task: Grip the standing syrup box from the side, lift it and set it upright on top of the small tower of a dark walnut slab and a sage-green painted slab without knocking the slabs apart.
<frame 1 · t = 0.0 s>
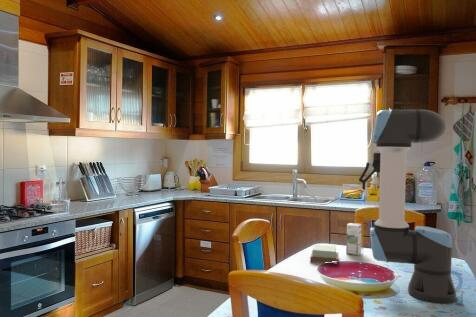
hand: (380, 197, 190), 28 cm above the table, tool pointing down, fingers open, 13 cm apart
sage slab: (324, 254, 183), point 2 cm above the table, touching walnut slab
walnut slab: (324, 261, 183), on the table, touching sage slab
syrup box: (353, 253, 195), on the table
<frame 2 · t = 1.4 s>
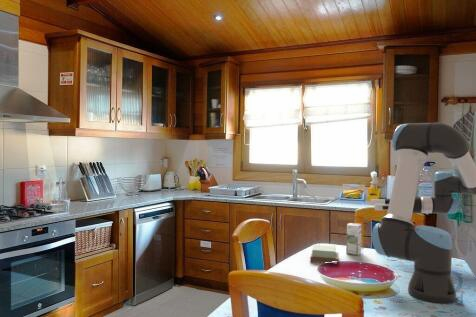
hand: (372, 204, 191), 24 cm above the table, tool horizontal, fingers open, 13 cm apart
nothing on the table moved.
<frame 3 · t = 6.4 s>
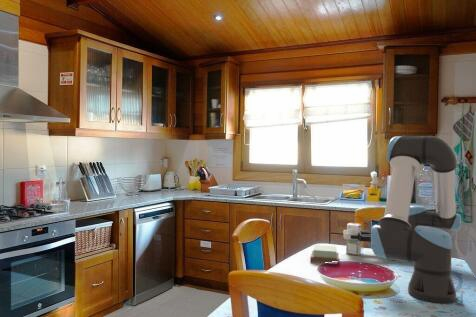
hand: (343, 234, 196), 9 cm above the table, tool horizontal, fingers closed on syrup box, 7 cm apart
sage slab: (325, 254, 183), point 2 cm above the table
walnut slab: (324, 261, 183), on the table
syrup box: (353, 253, 195), on the table, touching gripper
when the fingers open (16 cm above the table, at t = 17.2 s): syrup box drops 1 cm, resting on sage slab.
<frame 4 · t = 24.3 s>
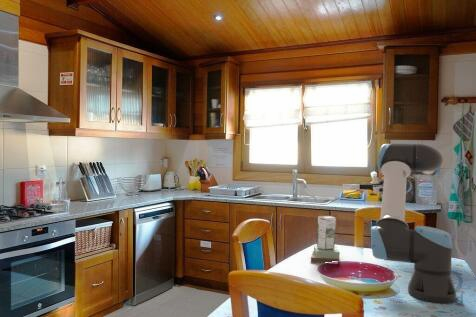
hand: (361, 188, 189), 32 cm above the table, tool horizontal, fingers open, 13 cm apart
sage slab: (326, 255, 182), point 2 cm above the table, touching syrup box, walnut slab
walnut slab: (325, 261, 182), on the table, touching sage slab
syrup box: (325, 248, 183), point 5 cm above the table, touching sage slab
at the end: syrup box inside the target area on the walnut slab (0.4 cm from its centre), point 5.9 cm above the walnut slab's base; syrup box tilted 2°; sage slab 0.4 cm off-centre on the walnut slab, point 3.0 cm above the walnut slab's base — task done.
